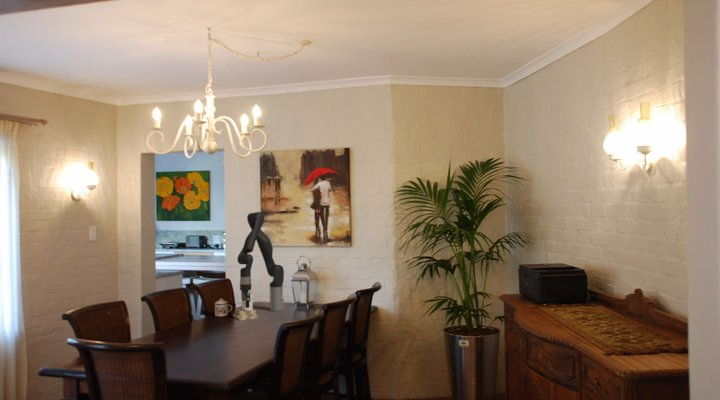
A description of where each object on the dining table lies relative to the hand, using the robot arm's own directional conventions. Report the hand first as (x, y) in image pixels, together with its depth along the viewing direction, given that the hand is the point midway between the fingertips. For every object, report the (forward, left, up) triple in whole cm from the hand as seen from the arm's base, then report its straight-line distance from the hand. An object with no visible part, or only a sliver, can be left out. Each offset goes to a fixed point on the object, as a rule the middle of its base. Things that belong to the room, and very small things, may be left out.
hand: (245, 306), depth 386 cm
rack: (0, 0, -7) cm, 7 cm away
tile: (-1, 0, -6) cm, 6 cm away
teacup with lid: (+12, -16, -7) cm, 21 cm away
